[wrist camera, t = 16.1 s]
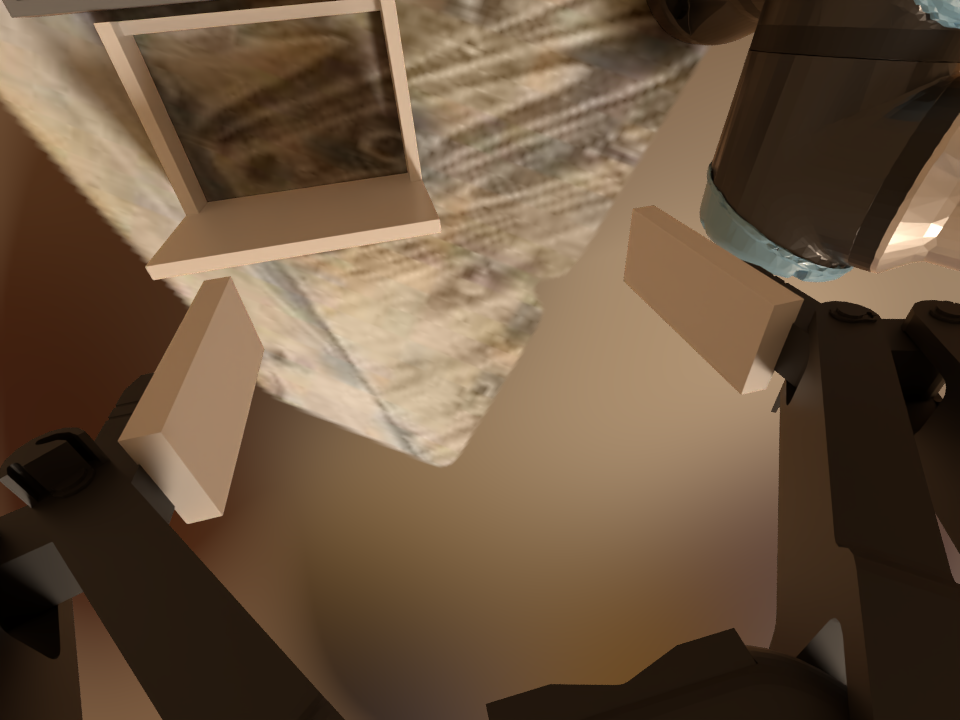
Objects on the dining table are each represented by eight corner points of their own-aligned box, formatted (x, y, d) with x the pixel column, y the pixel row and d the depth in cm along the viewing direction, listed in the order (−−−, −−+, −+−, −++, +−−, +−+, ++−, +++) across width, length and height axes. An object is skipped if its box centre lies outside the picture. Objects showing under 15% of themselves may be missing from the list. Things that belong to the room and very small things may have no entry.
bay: (390, -4, 35) (408, -12, 25) (419, 182, 44) (441, 232, 34) (111, 22, 33) (5, 26, 22) (200, 214, 41) (153, 280, 31)
